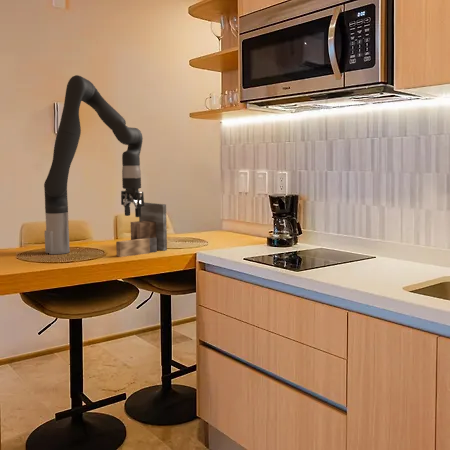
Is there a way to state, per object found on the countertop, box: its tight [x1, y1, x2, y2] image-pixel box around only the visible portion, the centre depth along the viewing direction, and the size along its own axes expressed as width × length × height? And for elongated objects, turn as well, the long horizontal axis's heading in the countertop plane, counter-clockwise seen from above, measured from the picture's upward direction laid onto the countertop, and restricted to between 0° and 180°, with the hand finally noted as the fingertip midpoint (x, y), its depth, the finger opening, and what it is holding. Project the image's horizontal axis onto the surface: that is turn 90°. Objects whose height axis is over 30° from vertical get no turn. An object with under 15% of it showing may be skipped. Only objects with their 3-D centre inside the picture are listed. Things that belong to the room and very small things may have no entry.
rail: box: [115, 238, 158, 258], centre depth 225 cm, size 18×3×6 cm, turn 130°
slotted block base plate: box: [130, 201, 168, 251], centre depth 238 cm, size 10×20×20 cm, turn 40°
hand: (132, 216), depth 223 cm, fingers open, 8 cm apart
